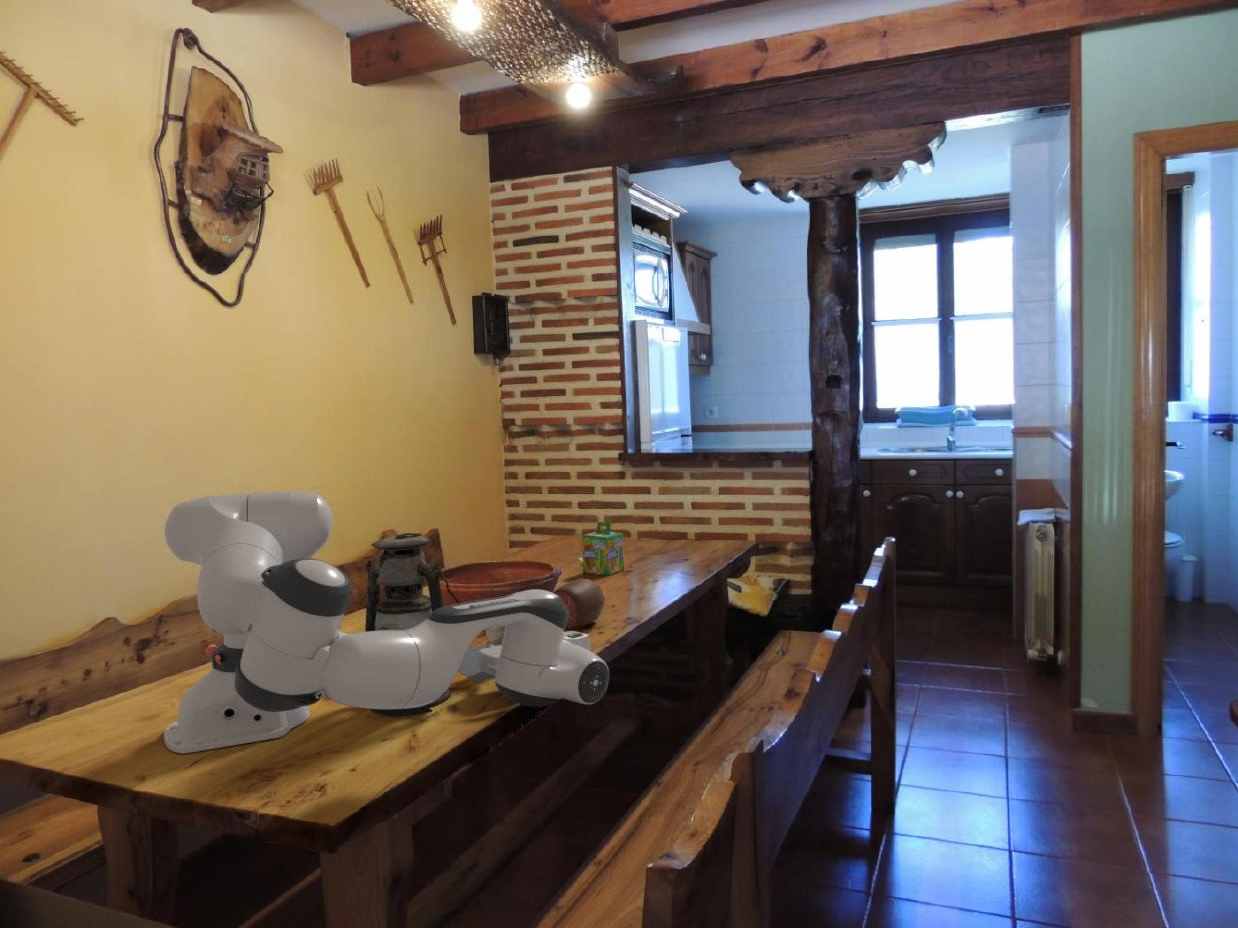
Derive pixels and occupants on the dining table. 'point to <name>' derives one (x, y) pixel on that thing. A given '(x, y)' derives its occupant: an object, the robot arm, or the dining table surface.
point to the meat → (581, 602)
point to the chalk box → (603, 551)
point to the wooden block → (495, 635)
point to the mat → (474, 665)
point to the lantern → (403, 595)
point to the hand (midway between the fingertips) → (514, 643)
